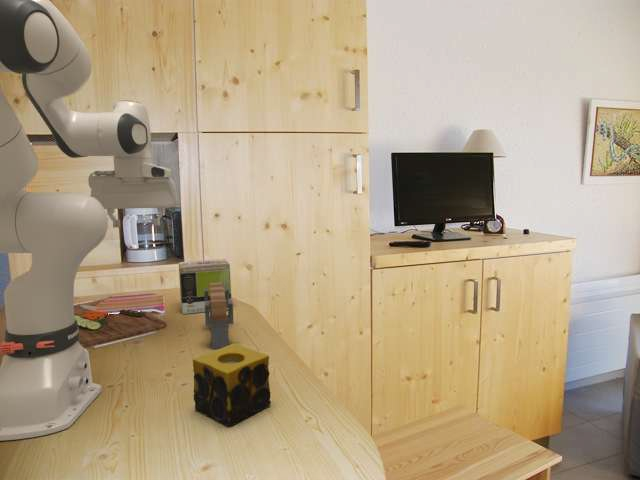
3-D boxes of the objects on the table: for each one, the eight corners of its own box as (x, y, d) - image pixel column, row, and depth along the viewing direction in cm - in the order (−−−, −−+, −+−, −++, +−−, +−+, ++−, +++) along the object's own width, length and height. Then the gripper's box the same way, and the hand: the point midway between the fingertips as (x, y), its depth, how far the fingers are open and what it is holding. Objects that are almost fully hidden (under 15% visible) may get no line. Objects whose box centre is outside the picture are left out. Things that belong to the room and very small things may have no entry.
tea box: (227, 302, 160) (226, 257, 158) (232, 310, 150) (230, 263, 148) (180, 306, 155) (178, 260, 153) (181, 315, 146) (179, 266, 144)
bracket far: (230, 329, 132) (229, 290, 131) (205, 331, 131) (204, 291, 129) (229, 324, 136) (228, 286, 134) (205, 326, 134) (204, 288, 133)
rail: (226, 320, 117) (226, 300, 116) (211, 322, 116) (211, 301, 115) (222, 299, 136) (222, 282, 135) (209, 300, 135) (209, 283, 134)
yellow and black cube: (236, 391, 95) (234, 342, 94) (272, 406, 89) (271, 354, 88) (192, 410, 88) (190, 357, 86) (229, 429, 81) (227, 372, 80)
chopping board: (21, 316, 147) (20, 306, 146) (111, 300, 165) (110, 291, 165) (70, 356, 115) (69, 344, 114) (175, 330, 133) (174, 320, 133)
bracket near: (234, 347, 119) (232, 303, 117) (206, 349, 117) (204, 305, 116) (233, 341, 123) (231, 299, 121) (206, 344, 121) (204, 301, 119)
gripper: (84, 170, 113) (89, 229, 115) (175, 170, 118) (178, 226, 120) (90, 170, 120) (94, 226, 121) (177, 170, 124) (179, 224, 126)
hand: (137, 226), depth 121 cm, fingers open, 8 cm apart
